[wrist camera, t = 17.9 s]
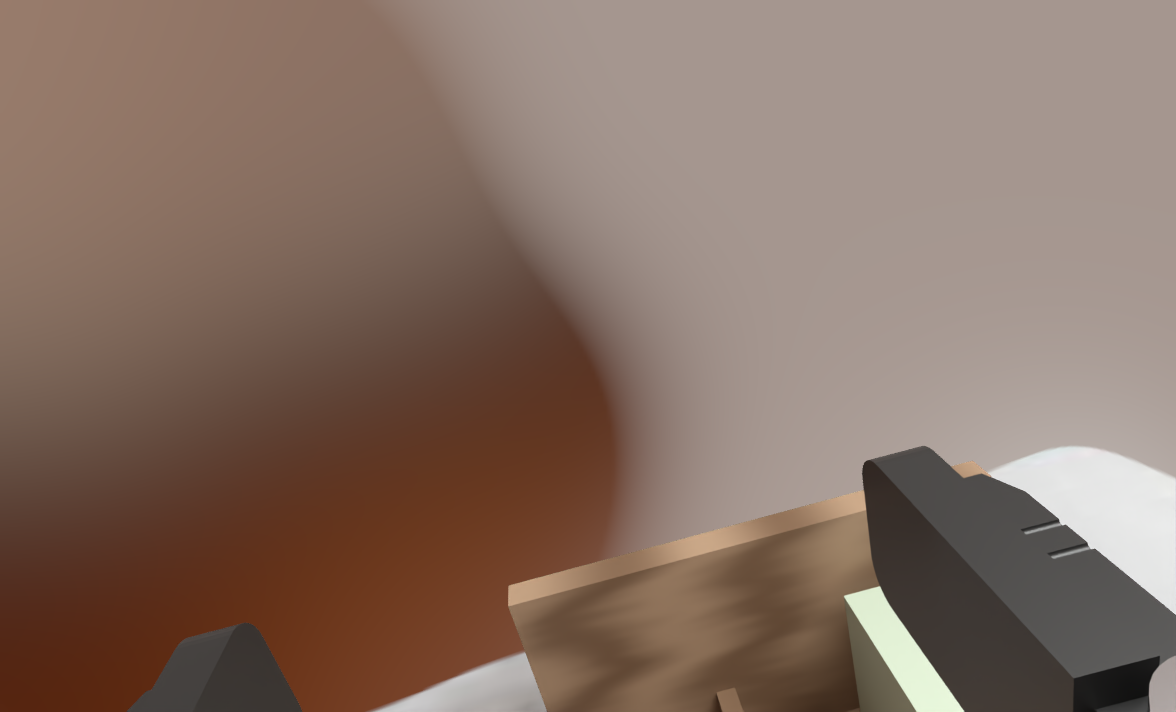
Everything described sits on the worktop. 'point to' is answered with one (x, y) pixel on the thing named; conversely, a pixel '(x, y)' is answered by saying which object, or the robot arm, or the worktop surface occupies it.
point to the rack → (708, 618)
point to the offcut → (891, 661)
